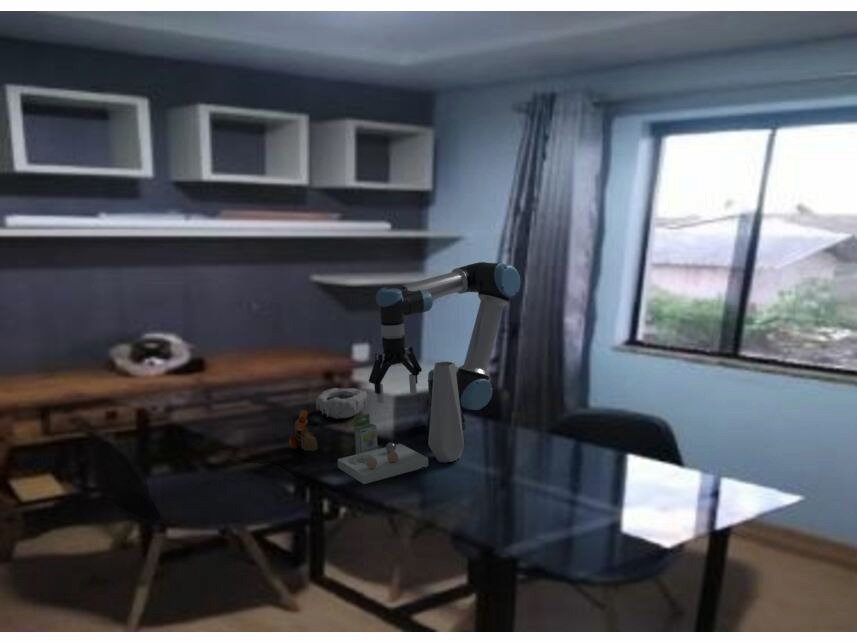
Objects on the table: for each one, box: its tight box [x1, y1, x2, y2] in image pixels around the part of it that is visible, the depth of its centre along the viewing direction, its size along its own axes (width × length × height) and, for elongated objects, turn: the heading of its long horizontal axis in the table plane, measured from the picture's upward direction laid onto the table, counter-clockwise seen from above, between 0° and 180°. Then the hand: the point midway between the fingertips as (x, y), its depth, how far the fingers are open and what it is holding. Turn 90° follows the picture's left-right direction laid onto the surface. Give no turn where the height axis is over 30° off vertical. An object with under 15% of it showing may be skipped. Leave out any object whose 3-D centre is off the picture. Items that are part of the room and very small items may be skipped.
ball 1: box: [366, 457, 377, 469], centre depth 248 cm, size 4×4×4 cm
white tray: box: [337, 443, 429, 485], centre depth 257 cm, size 24×18×3 cm
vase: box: [428, 360, 465, 463], centre depth 258 cm, size 12×12×33 cm
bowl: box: [315, 387, 368, 420], centre depth 314 cm, size 21×20×10 cm
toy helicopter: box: [288, 409, 319, 452], centre depth 272 cm, size 8×21×14 cm, turn 26°
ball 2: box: [387, 451, 398, 462], centre depth 252 cm, size 4×4×4 cm
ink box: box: [353, 413, 379, 455], centre depth 269 cm, size 7×4×13 cm, turn 131°
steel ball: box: [385, 441, 396, 452], centre depth 261 cm, size 4×4×4 cm
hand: (397, 398), depth 261 cm, fingers open, 13 cm apart
